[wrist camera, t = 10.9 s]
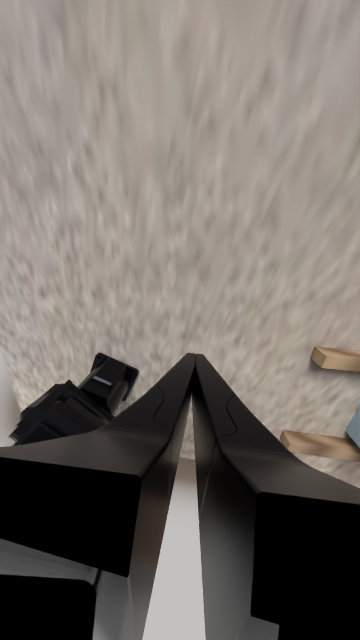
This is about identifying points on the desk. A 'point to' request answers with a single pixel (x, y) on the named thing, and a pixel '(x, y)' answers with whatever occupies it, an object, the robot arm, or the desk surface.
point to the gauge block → (355, 427)
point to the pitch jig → (327, 444)
